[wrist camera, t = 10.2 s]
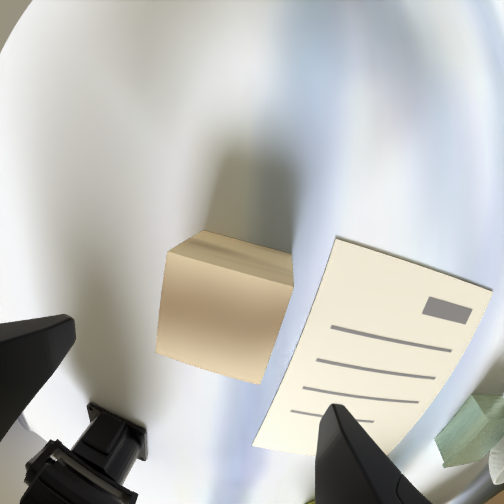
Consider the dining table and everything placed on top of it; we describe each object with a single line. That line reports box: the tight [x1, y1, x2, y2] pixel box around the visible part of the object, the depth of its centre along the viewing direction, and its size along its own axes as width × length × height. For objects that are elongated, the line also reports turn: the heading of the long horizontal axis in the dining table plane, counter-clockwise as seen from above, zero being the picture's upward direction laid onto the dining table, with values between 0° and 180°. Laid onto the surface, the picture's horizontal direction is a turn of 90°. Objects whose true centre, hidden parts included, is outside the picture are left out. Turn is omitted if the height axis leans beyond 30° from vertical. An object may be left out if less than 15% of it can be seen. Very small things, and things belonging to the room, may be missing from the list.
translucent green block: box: [435, 394, 504, 468], centre depth 15 cm, size 6×6×4 cm
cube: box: [156, 230, 294, 385], centre depth 13 cm, size 5×5×5 cm
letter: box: [252, 239, 493, 456], centre depth 16 cm, size 18×13×1 cm
